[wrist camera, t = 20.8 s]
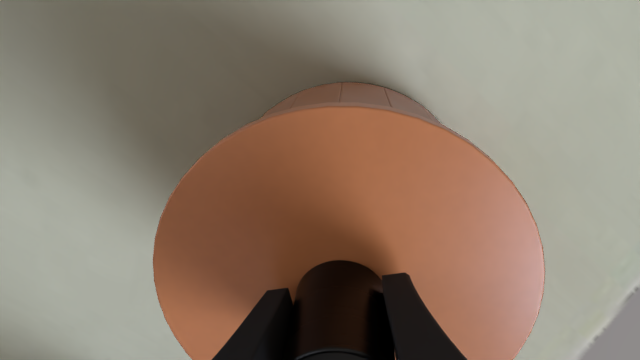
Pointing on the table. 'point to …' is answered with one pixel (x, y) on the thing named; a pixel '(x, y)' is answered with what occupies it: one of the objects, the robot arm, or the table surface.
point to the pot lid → (348, 235)
